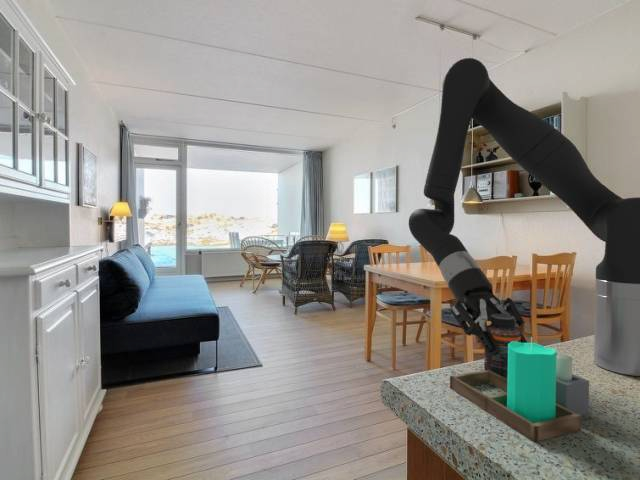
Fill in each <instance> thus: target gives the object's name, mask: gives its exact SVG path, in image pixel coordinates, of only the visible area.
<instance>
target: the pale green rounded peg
mask: <svg viewBox="0 0 640 480" xmlns="http://www.w3.org/2000/svg"><path fill="white" fill-rule="evenodd" d="M572 374H573V358H572V356H569V355H567V354H562V353H561V354H559V353H557V362H556V379H559V380H561V381H563V382H569V381H572Z"/></svg>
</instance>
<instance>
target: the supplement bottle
mask: <svg viewBox="0 0 640 480" xmlns="http://www.w3.org/2000/svg"><path fill="white" fill-rule="evenodd" d="M515 321H516V319H515V317H513V316H511V315H506V314H492V315H491V320H490V321H489V322H490V324H487V328H488V331H487V332H490V333H491V334H492V336H493V338H494V339H495V341H496V343H497V344H498V346H499V348H500V352H499V353H497V354H496V355H493V356H491V355H490V354H489V353H488V352H487V351H486V350H485V349H484V354H483V355H484V364H483V365H484V366H483V367H484V371H485V370H490V371H492V372H494V373H496V374H498V375H500V376H502V377H504V378H506V379H508V344H509V343H511V342H513V341H515V342H521V333H522V332H521V330H520V329H519V330H520V331H519V330H518V329H517V328H516V326H515ZM520 332H521V333H520Z"/></svg>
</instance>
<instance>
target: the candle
mask: <svg viewBox="0 0 640 480" xmlns="http://www.w3.org/2000/svg"><path fill="white" fill-rule="evenodd" d="M557 354H558V352H557V350H556V349H555V348H551V347H545V346H544V345H541V344H538V343H537V342H533V337H532V336H531V337H530V342H528V343H521V342H515V341H513V342H511V343H509V344H508V379H507V392H506V393H507V408H509V409H510V410H512V411H514V412H515V413H517V414H519V415H521V416H522V417H524V418H526V419H527V420H529V421H531V422H532V423H538V422H542V421H547V420H551V419H555V411H556V362H557Z"/></svg>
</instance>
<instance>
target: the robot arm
mask: <svg viewBox="0 0 640 480" xmlns="http://www.w3.org/2000/svg"><path fill="white" fill-rule="evenodd" d="M441 84H442V86H441V87H442V91H441V103H440V104H441V105H440V106H441V107H440V116H439V122H438V127H437V134H436V139H435V143H434V147H433V151H432V154H431V158H430V162H429V166H428V170H427V174H426V178H425V182H424V186H423V195H424V197H426V198H427V199H430V200H432V201H433V202H434V209H433V208H432V209H431V208H417V209H415V210H413V212H412V213H410V216H409V217H408V227H409V232H410V233H411V235H412V237H413V238H414V239H415V240H416V241H417V243H419V244H420V245H421V247H423V249H424V250H426V252H428V253H429V254H430V255H431V256H432V257H433V260H434V261H435V264H436V265H437V267H438V269H439V270H440V273H441V276H442V277H443V280H444V281H445V283H446V284H447V286H448V289H449V290H450V291H451V293H452V295H453V297H454V299H455V300H456V302H455V304H454V305H453V306H452V307H451V309H450V310H449V311H450V312H451V314H452V315H453V317H454V319H455V320H456V322H457V323H458V324H459V326H460V327H461V329H462V330H463V331H464V333H465V335H467V336H471V335H473V336H475V337H476V338H478V339H479V341H480V342H481V344H482V346H483V348H484V351H485V350H486V351H487V352H488V353H489V354H490V355H491V356H493V355H496V354H497V353H499V352H500V348H499V346H498V344H497V343H496V341H495V339H494V338H493V336H492V334H491V333H490V332H487V331H488V328H487V326H488V324H487V323H488V322H491V321H490V320H491V315H492V314H506V315H511V316H513V317H515V326H516V328H517V329H518V330H519V331H520V333H521V343H529V342H528V340H527V339H526V338H525V336H524V334H523V333H522V332H521V330H520V327H521V326H522V325H524V324H525V321H524V319H523V317H522V315H521V314H520V312H519V310H518V308H517V306H516V304H515V303H514V301H513V300H512V299H511V298H510V297H507V298H506V299H499V298H498V297H497V296H496V295H495V294H494V293H493V285H492V283H491V282H490V280H489V278H488V277H487V276H486V274H485V273H484V271H483V270H482V268H481V267H480V265H479V264H478V262H477V261H476V260H475V258H474V257H472V255H471V254H470V252H468V250H467V248H466V247H465V246H464V244H463V242H462V241H461V240H460V239H459V237H457V236H456V235H454V234H452V231H453V228H454V226H455V192H456V188H457V185H458V182H459V178H460V173H461V169H462V165H463V159H464V152H465V147H466V142H467V141H466V140H467V137H468V133H469V132H468V131H469V128H470V124H471V121H472V120H473V121H474V122H476V123H477V124H479V125H480V126H481V127H482V128H483V129H485V130H486V131H487V132H488V134H489V135H490V136H491V137H492V138H493V140H495V141H496V143H497V144H498V145H499V147H501V149H503V152H505V153H506V154H507V155H508V156H509V157H510V158H511V159H512V160H513V161H514V162H515V163H516V164H517V165H518V166H520V167H521V168H522V169H523V170H524V171H525V172H527V173H528V174H529V175H530V176H531V177H533V179H535V180H536V181H538V182H539V183H540V184H541V185H542V186H544V187H545V188H546V189H547V190H548V191H550V192H551V193H552V194H553V195H554V196H556V197H558V199H559V200H561V201H562V202H563V203H564V204H565V205H566V206H568V207H569V209H570V210H571V211H572V212H573V213H574V214H575V215H576V216H577V217H578V219H580V220H581V222H582V223H583V224H584V225H585V226H586V227H587V228H588V230H590V232H591V233H592V234H594V236H595V237H596V238H598V239H599V240H601V241H602V242H604V243H605V245H604V255H603V258H602V260H601V262H599V263H598V264H597V265H596V268H595V285H594V286H595V287H594V292H595V293H594V294H595V295H594V297H595V299H594V336H593V337H594V338H593V339H594V340H593V341H594V342H593V344H594V345H593V362H594V363H595V364H596V365H597V366H598V367H600V368H603V369H606V370H608V371H611V372H614V373H617V374H622V375H626V376H627V375H628V376H636V377H640V196H639V197H637V196H636V197H628V198H623V197H621V196H619V195H618V194H616V193H615V192H614V191H612V190H611V189H609V188H608V187H607V186H606V185H604V184H602V182H601V181H599V180H598V178H596V176H594V174H593V173H592V171H591V170H590V168H589V166H588V164H587V162H586V160H585V159H584V158H583V156H582V154H581V153H580V151H579V149H578V147H576V145H575V144H574V143H573V142H572V141H571V140H570V139H569V138H568V137H566V136H565V134H563V133H562V132H560V131H559V130H558V129H557V128H556V127H554V126H553V125H552V124H550V123H549V122H547V121H546V120H545V119H543V118H542V117H540V116H538V115H536V114H535V113H533V112H532V111H529V110H527V109H526V108H524V107H522V106H520V105H518V104H517V103H515V102H513V100H511V99H510V98H509V97H507V95H505V94H504V92H502V91H501V89H499V88H498V87H497V85H495V83H494V82H493V81H492V80H491V79H490V76H489V73H488V70H487V68H486V66H485V65H484V64H483V62H482V61H480V60H478V59H476V58H473V57H466V58H461V59H459V60H457V61H455V62H454V63H452V64H451V66H449V67H448V69H447V71H446V72H445V74H444V76H443V79H442V83H441Z"/></svg>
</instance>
